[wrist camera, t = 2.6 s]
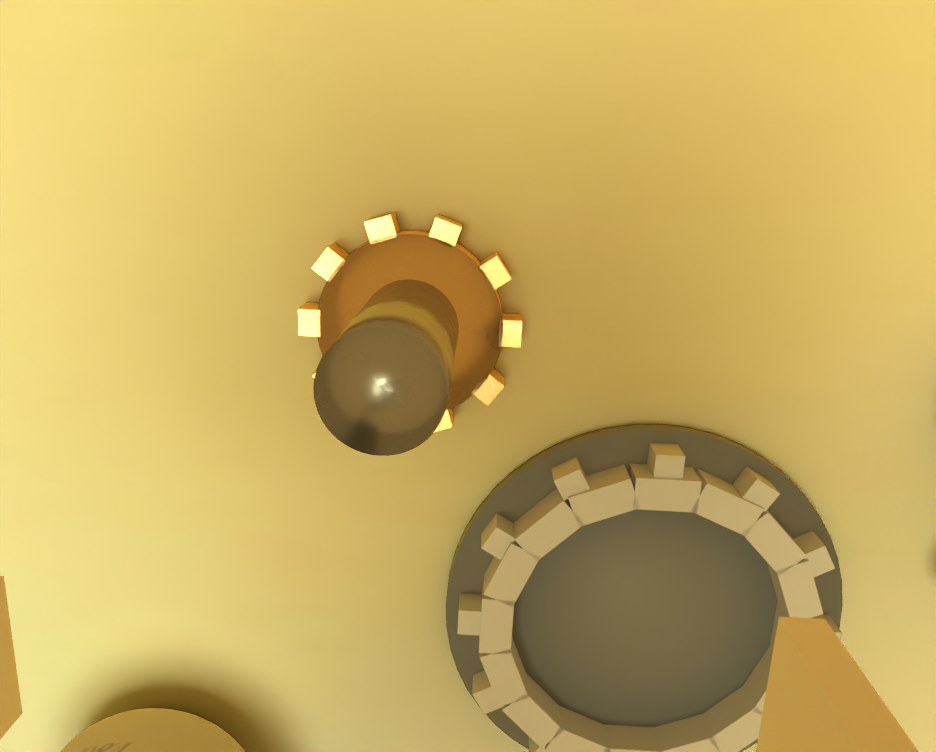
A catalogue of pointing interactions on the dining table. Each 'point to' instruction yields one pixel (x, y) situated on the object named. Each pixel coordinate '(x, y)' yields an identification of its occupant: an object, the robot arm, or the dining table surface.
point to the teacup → (153, 734)
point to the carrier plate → (635, 592)
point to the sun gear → (405, 334)
